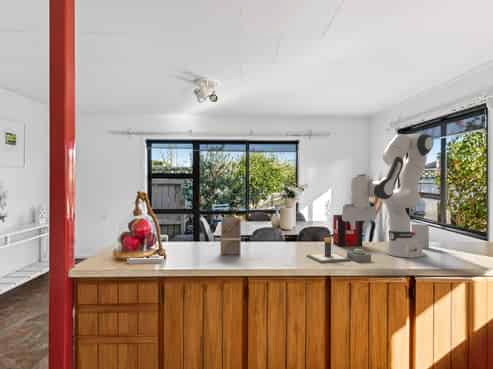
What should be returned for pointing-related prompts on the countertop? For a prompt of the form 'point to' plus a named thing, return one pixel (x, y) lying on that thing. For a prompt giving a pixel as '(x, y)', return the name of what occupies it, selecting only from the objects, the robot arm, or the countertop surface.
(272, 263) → the countertop surface
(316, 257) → the drawing board
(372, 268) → the countertop surface
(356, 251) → the button
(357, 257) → the button housing
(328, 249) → the marker
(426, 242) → the skincare box
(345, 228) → the cleaning product box
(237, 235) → the brown tall block
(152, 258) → the holder
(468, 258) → the countertop surface
